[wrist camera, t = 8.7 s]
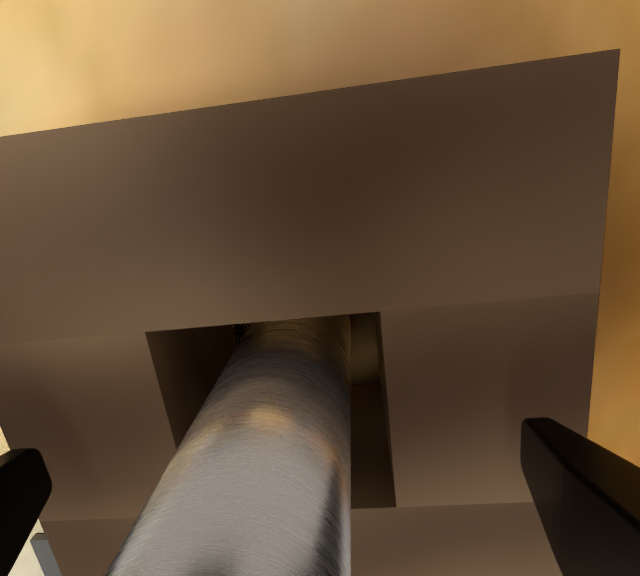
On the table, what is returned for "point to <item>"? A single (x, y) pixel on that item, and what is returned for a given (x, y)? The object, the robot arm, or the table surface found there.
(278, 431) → the pin
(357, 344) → the table surface
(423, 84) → the hole block
